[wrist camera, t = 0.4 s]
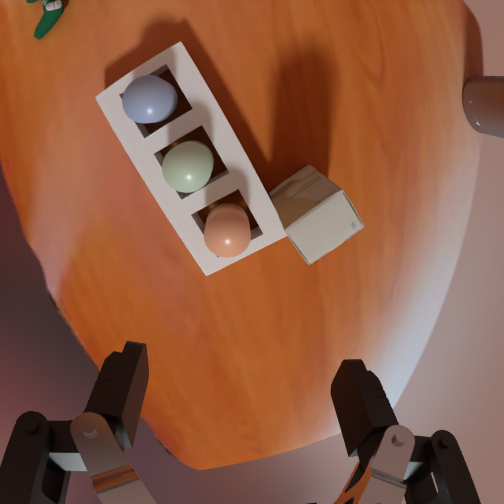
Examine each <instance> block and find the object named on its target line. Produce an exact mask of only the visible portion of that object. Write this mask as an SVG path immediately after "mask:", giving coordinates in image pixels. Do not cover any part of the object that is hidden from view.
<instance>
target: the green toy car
mask: <svg viewBox="0 0 504 504" xmlns="http://www.w3.org/2000/svg"><path fill="white" fill-rule="evenodd" d="M26 1H27V3H33V2H35V1H37V0H26ZM41 1H42V6H43V10H44V14H43V16H42V18H41V20H40V22H39V23H38V25H37V27H36V29H35V33H34V37H35V38H37V39H41V38H42V37H43V36H44V35H45V34H46V33H47V32H48V31H49V30H50V29H51V28H52V27H53V26H54V24H55V23H56V22H57V21H58V19H59V17H60V16H61V14H62V13H63V1H62V0H41Z"/></svg>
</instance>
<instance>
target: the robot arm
mask: <svg viewBox="0 0 504 504" xmlns="http://www.w3.org/2000/svg"><path fill="white" fill-rule="evenodd" d="M463 106H464V110H465V114H466V116H467V119H468V121H469V123H470V124H471V125H472V127H473V128H474V129H475V130H476V131H478V132H480V133H484V134H488V135H493V136H496V137H500V138H504V76H474V77H471V78H470V79H469V80H468V81H467V83H466V85H465V87H464V91H463ZM148 378H149V366H148V357H147V347H146V344H144V343H138V342H132V341H127V342H126V344H125V347H124V349H123V352H122V353H120V352H115V351H113V352H112V353H111V354H110V355H109V356H108V357H107V358H106V359H105V361H104V363H103V365H102V368H101V371H100V373H99V375H98V379H97V380H96V383H95V385H94V388H93V390H92V393H91V396H90V398H89V401H88V403H87V406H86V408H85V410H84V412H83V413H81V414H79V415H77V416H76V417H75V418H74V419H73V420H69V421H47V419H46V418H45V416H43V415H42V414H41V413H39V412H35V411H29V412H25V413H23V414H22V415H21V416H20V417H19V418H18V419H17V421H16V424H15V426H14V429H13V431H12V434H11V437H10V440H9V442H8V445H7V448H6V451H5V454H4V457H3V460H2V463H1V466H0V504H65V500H66V494H67V488H68V484H69V479H70V474H71V471H88V473H89V475H90V477H91V479H92V482H93V487H94V489H95V491H96V493H97V495H98V497H99V499H100V500H101V502H102V504H156V502H155V501H154V499H153V498H152V497H151V495H150V493H149V492H148V491H147V489H146V488H145V486H144V485H143V483H142V482H141V480H140V478H139V477H138V475H137V474H136V472H135V471H134V470H133V469H132V467H131V466H130V464H129V462H128V461H127V459H126V457H125V455H124V454H123V452H124V448H125V447H126V448H131V449H132V448H133V443H134V439H135V434H136V430H137V425H138V421H139V417H140V412H141V408H142V404H143V400H144V396H145V392H146V388H147V384H148ZM331 397H332V401H333V404H334V407H335V411H336V414H337V418H338V421H339V425H340V428H341V432H342V435H343V438H344V442H345V446H346V449H347V453H348V457H353V456H358V457H359V461H358V463H357V464H356V466H355V468H354V470H353V472H352V474H351V476H350V478H349V480H348V482H347V483H346V485H345V487H344V489H343V491H342V493H341V494H340V496H339V497H338V499H337V500H336V501H335V502H334V503H333V504H401V502H402V499H403V497H405V501H406V504H481V503H480V500H479V497H478V494H477V491H476V489H475V486H474V483H473V480H472V478H471V475H470V472H469V470H468V467H467V465H466V462H465V460H464V457H463V455H462V452H461V450H460V448H459V445H458V443H457V441H456V439H455V437H454V436H453V435H452V434H451V433H450V432H448V431H446V430H439V431H437V432H435V433H434V434H433V435H432V436H431V437H424V436H415V435H413V433H412V432H411V431H410V430H409V429H408V428H406V427H404V426H401V425H399V423H398V421H397V419H396V416H395V414H394V412H393V409H392V407H391V405H390V403H389V400H388V398H386V394H385V391H384V390H383V387H382V385H381V382H380V380H379V378H378V377H377V376H376V375H375V374H374V373H373V372H372V371H367V369H366V367H365V365H364V363H363V361H362V360H361V359H348V360H343V361H342V363H341V365H340V367H339V369H338V371H337V373H336V375H335V377H334V379H333V382H332V384H331ZM432 472H433V475H434V478H435V481H436V484H437V487H438V494H437V491H436V488H435V485H434V482H433V479H432V476H431V473H432ZM309 504H317V503H309Z"/></svg>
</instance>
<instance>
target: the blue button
mask: <svg viewBox="0 0 504 504" xmlns="http://www.w3.org/2000/svg"><path fill="white" fill-rule="evenodd" d="M177 101H178V97H177V93H176V90H175V88H174V87H173V86H172V85H171V84H170V83H168V82H166V81H165V80H163V79H161V78H159V77H157V76H153V75H145V76H141V77H138V78H136V79H135V80H133V81H132V82H131V83H130V84H129V85H128V86H127V88H126V89H125V91H124V94H123V98H122V105H123V109H124V112H125V114H126V115H127V116H128V117H129V118H130V119H131V120H133V121H135V122H138V123H155V122H160V121H163V120H165V119H167V118H168V117H169V116H170V115H171V114H172V113H173V112H174V110H175V108H176V106H177Z"/></svg>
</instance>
